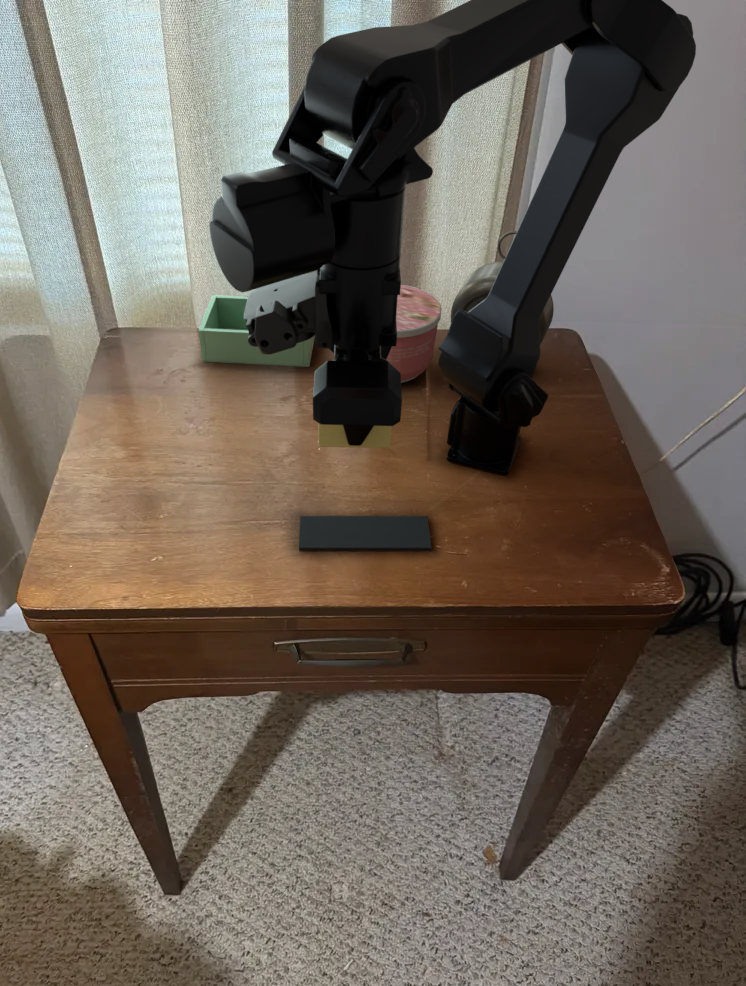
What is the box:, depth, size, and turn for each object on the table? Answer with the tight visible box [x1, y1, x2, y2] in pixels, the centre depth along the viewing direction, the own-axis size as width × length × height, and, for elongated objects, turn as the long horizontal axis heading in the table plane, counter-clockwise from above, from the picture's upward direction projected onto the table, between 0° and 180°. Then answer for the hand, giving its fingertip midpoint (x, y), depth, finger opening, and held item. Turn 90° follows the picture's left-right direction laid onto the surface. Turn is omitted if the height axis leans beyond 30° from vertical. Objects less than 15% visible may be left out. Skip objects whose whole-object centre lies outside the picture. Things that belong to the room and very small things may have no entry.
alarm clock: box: [450, 230, 555, 346], centre depth 84 cm, size 11×5×16 cm, turn 66°
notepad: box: [317, 422, 392, 449], centre depth 64 cm, size 4×6×3 cm, turn 89°
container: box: [386, 284, 443, 384], centre depth 86 cm, size 10×10×8 cm
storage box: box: [197, 294, 315, 368], centre depth 90 cm, size 13×8×4 cm, turn 86°
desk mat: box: [298, 515, 433, 552], centre depth 70 cm, size 12×4×1 cm, turn 91°
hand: (355, 428), depth 65 cm, fingers closed on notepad, 4 cm apart
